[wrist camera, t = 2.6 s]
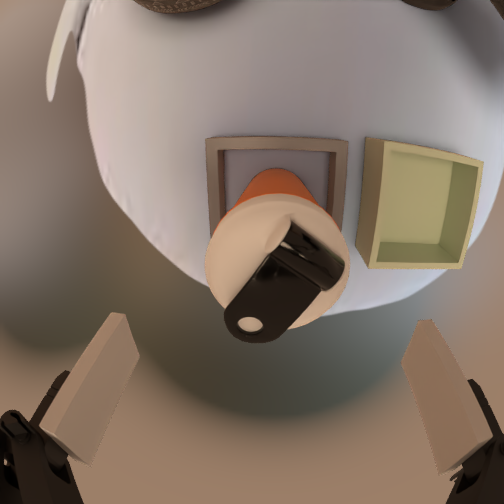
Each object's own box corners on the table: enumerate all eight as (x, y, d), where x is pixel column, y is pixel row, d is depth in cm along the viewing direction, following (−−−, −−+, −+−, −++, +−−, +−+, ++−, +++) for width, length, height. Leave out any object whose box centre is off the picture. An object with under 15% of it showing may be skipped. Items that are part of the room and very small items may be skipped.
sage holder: (365, 137, 28) (384, 140, 23) (456, 153, 27) (483, 161, 22) (355, 245, 34) (368, 268, 29) (440, 248, 33) (461, 268, 28)
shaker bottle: (225, 213, 34) (172, 321, 16) (259, 146, 30) (236, 181, 12) (290, 245, 35) (303, 373, 17) (328, 183, 31) (394, 268, 13)
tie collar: (212, 137, 30) (203, 139, 26) (340, 139, 29) (350, 142, 25) (219, 268, 37) (213, 286, 33) (329, 271, 36) (335, 289, 32)
